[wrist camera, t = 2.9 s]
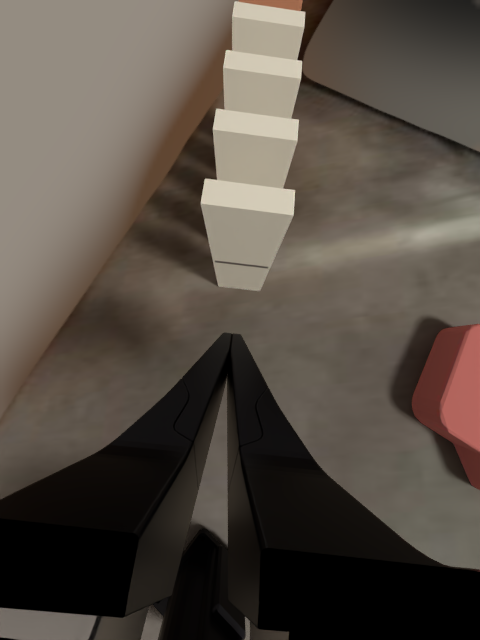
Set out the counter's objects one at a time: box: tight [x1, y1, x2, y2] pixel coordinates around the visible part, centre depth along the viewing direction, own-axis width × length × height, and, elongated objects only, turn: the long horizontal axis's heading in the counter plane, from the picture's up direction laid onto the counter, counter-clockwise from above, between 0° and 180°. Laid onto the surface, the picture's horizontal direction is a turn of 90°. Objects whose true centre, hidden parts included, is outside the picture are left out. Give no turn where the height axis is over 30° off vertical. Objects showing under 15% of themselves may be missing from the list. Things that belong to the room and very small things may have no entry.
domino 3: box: [223, 50, 302, 119], centre depth 17 cm, size 2×5×12 cm, turn 84°
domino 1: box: [201, 179, 295, 291], centre depth 16 cm, size 2×5×12 cm, turn 84°
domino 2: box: [213, 109, 299, 189], centre depth 17 cm, size 2×5×12 cm, turn 84°
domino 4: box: [232, 1, 305, 60], centre depth 18 cm, size 2×5×12 cm, turn 84°
